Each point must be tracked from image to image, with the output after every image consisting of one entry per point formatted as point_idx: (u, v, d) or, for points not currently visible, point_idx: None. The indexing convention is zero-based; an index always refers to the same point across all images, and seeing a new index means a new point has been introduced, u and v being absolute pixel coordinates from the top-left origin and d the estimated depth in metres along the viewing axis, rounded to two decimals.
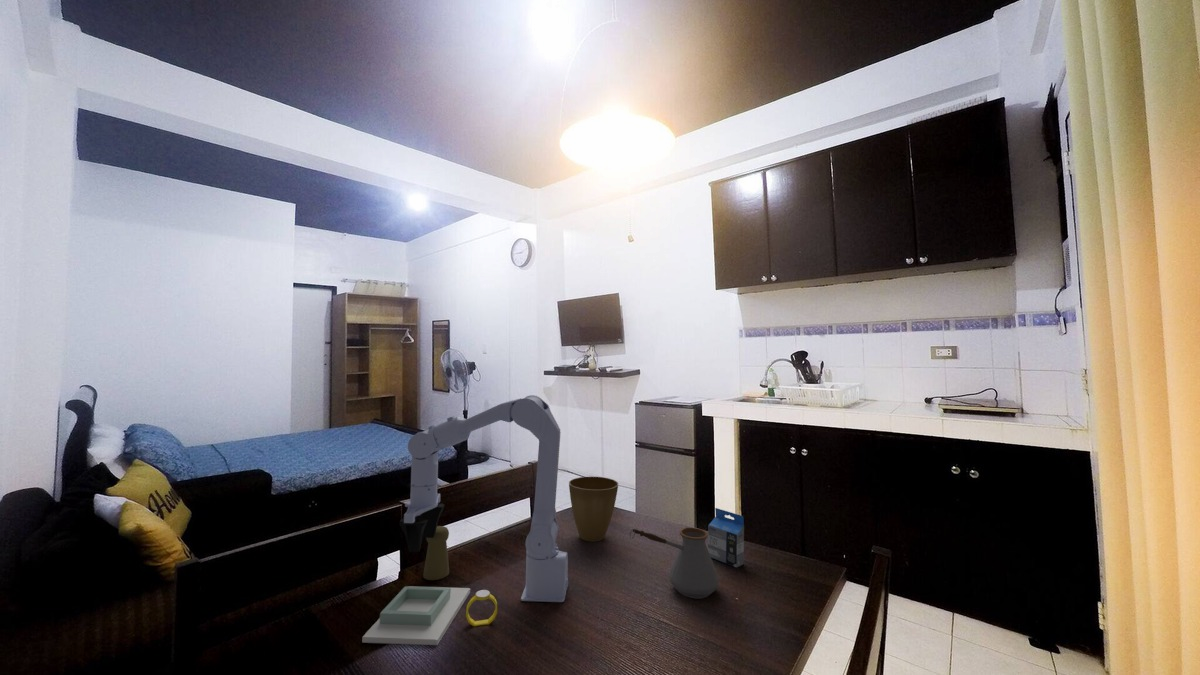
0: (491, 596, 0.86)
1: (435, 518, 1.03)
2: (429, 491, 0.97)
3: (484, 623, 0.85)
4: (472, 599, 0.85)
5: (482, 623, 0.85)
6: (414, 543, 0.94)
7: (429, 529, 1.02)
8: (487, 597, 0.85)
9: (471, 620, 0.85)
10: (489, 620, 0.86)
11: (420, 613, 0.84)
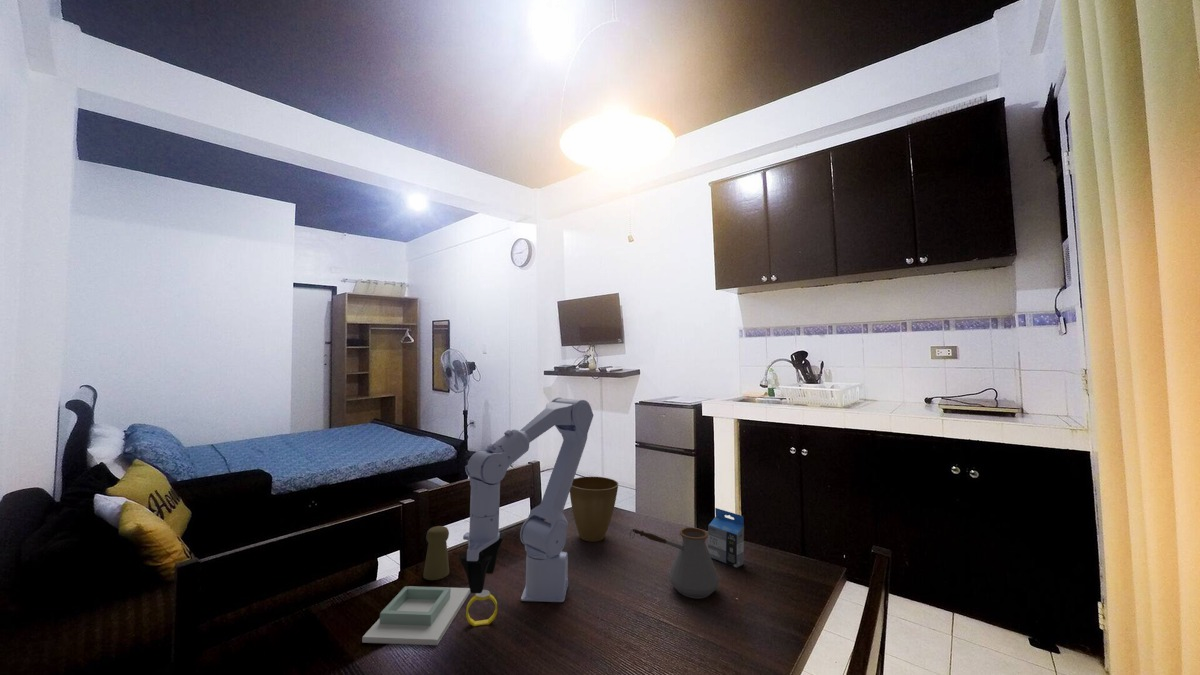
0: (491, 596, 0.86)
1: (495, 551, 0.90)
2: (492, 522, 0.85)
3: (484, 623, 0.85)
4: (472, 599, 0.85)
5: (482, 623, 0.85)
6: (477, 583, 0.82)
7: (488, 563, 0.90)
8: (487, 597, 0.85)
9: (471, 620, 0.85)
10: (489, 620, 0.86)
11: (420, 613, 0.84)
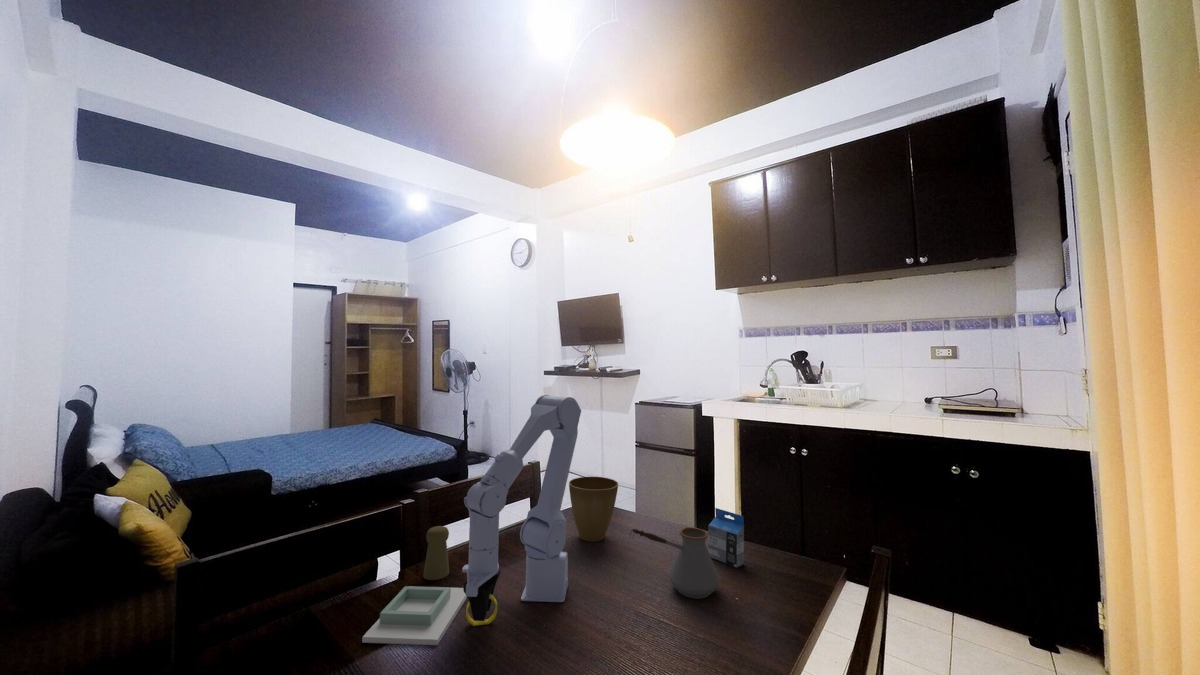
0: (491, 596, 0.86)
1: None
2: (491, 555, 0.85)
3: (484, 623, 0.85)
4: None
5: (482, 623, 0.85)
6: (480, 611, 0.84)
7: None
8: None
9: (471, 620, 0.85)
10: (489, 620, 0.86)
11: (420, 613, 0.84)
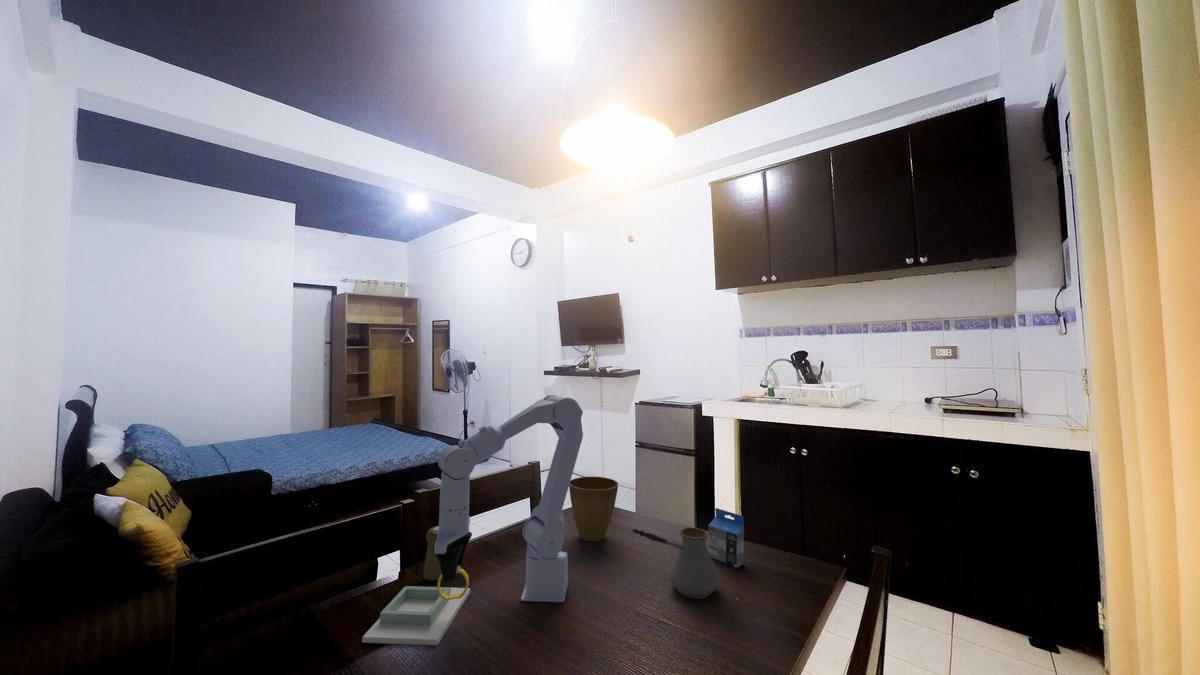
0: (462, 570, 0.88)
1: (462, 549, 0.89)
2: (461, 516, 0.86)
3: (456, 597, 0.86)
4: None
5: (454, 597, 0.87)
6: (449, 570, 0.85)
7: None
8: (457, 571, 0.87)
9: (443, 594, 0.87)
10: (461, 594, 0.87)
11: (420, 613, 0.84)
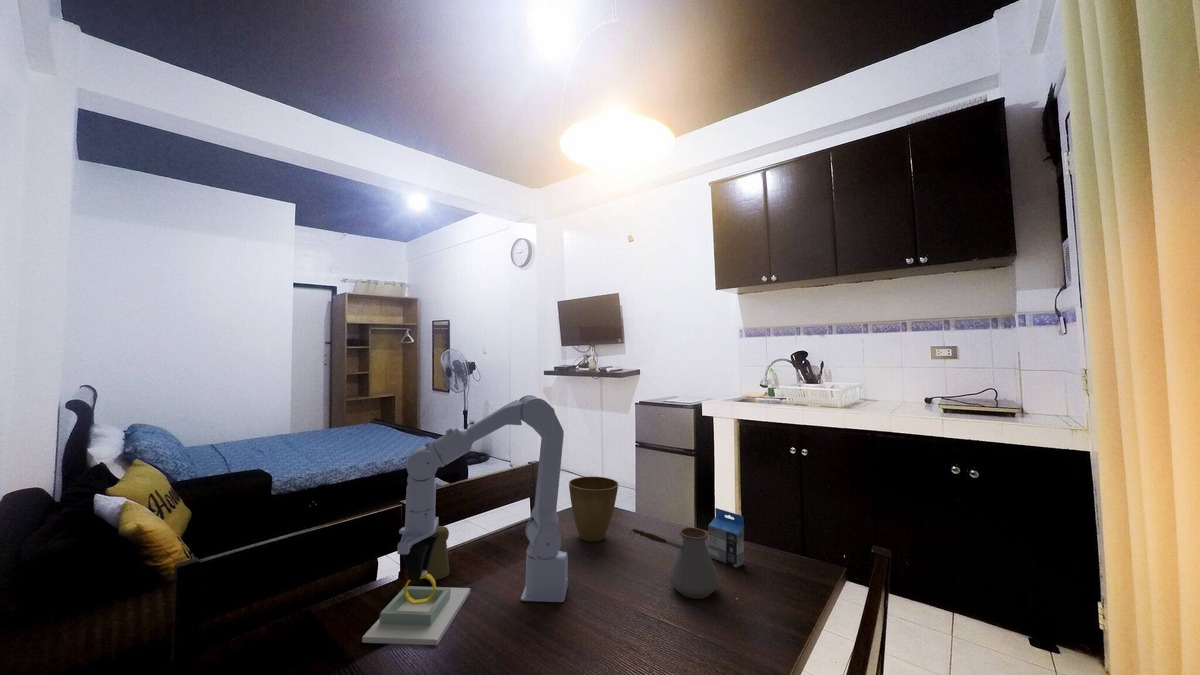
0: (428, 575, 0.89)
1: (428, 549, 0.90)
2: (426, 517, 0.87)
3: (422, 602, 0.88)
4: None
5: (420, 602, 0.88)
6: (414, 570, 0.87)
7: None
8: (423, 576, 0.88)
9: (410, 599, 0.88)
10: (427, 599, 0.88)
11: (420, 613, 0.84)
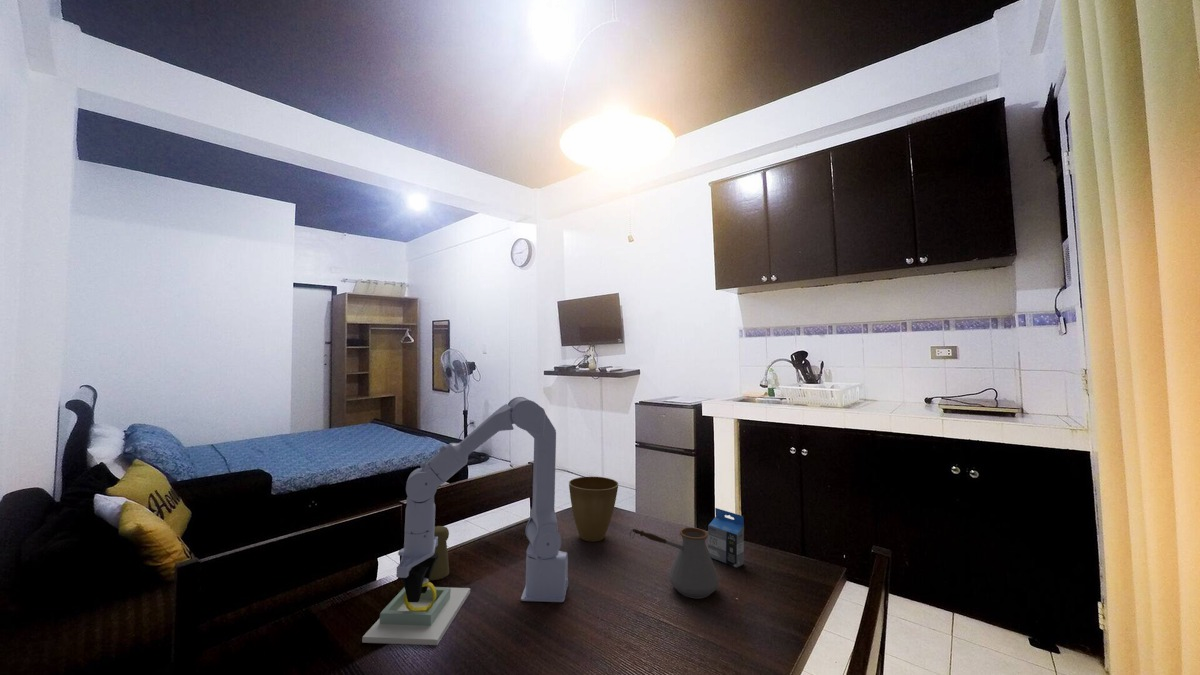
0: (429, 584, 0.89)
1: (427, 571, 0.90)
2: (425, 538, 0.87)
3: (422, 610, 0.88)
4: None
5: (420, 610, 0.88)
6: (414, 592, 0.86)
7: None
8: (424, 585, 0.88)
9: (410, 606, 0.88)
10: (427, 607, 0.88)
11: (420, 613, 0.84)
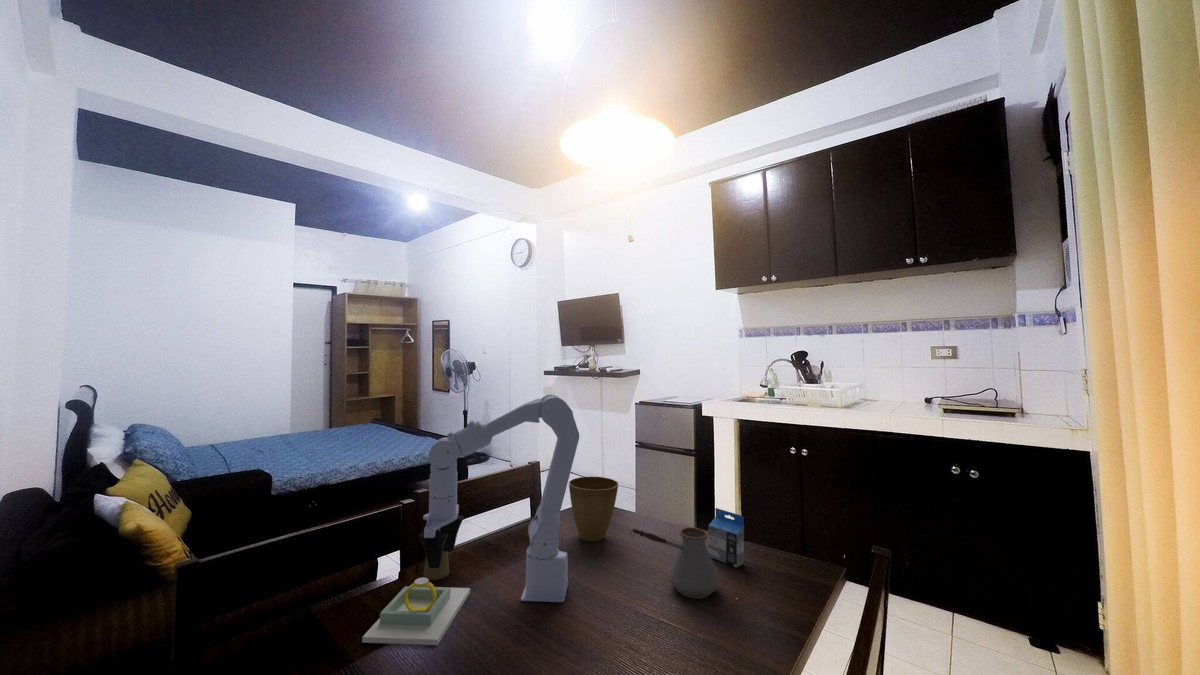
0: (429, 584, 0.89)
1: (454, 531, 0.97)
2: (449, 503, 0.92)
3: (422, 610, 0.88)
4: (411, 586, 0.88)
5: (420, 610, 0.88)
6: (435, 558, 0.89)
7: (447, 542, 0.97)
8: (424, 585, 0.88)
9: (410, 606, 0.88)
10: (427, 607, 0.88)
11: (420, 613, 0.84)
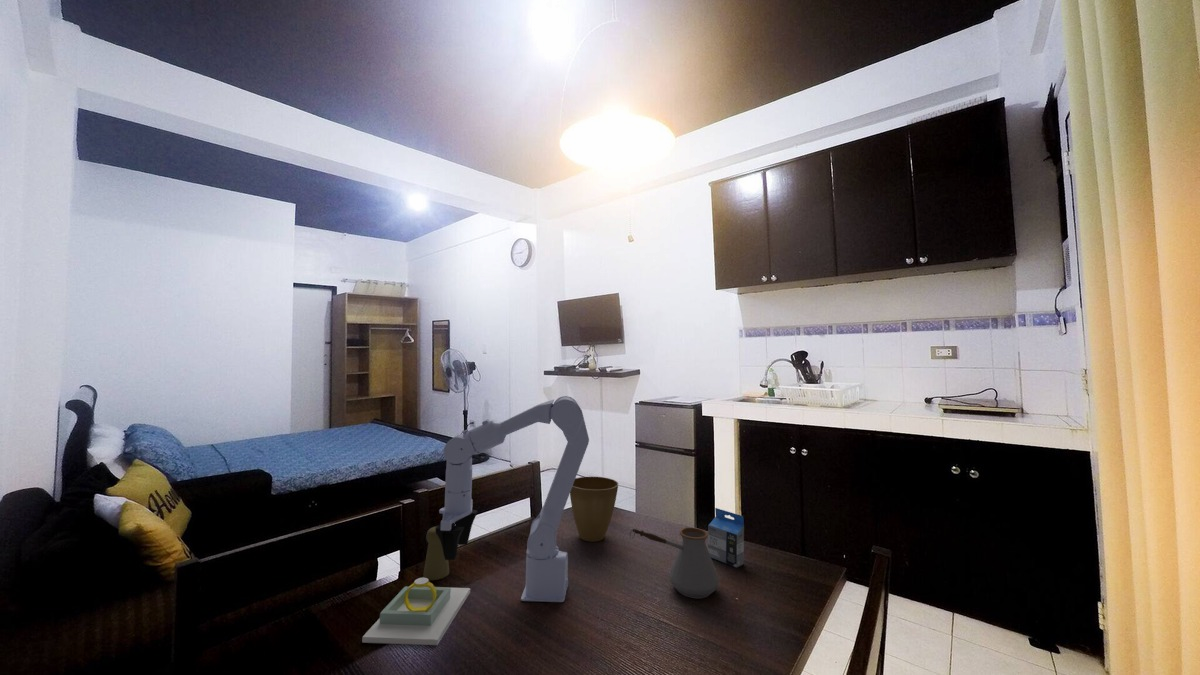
0: (429, 584, 0.89)
1: (468, 525, 1.00)
2: (464, 497, 0.95)
3: (422, 610, 0.88)
4: (411, 586, 0.88)
5: (420, 610, 0.88)
6: (450, 551, 0.92)
7: (462, 535, 1.00)
8: (424, 585, 0.88)
9: (410, 606, 0.88)
10: (427, 607, 0.88)
11: (420, 613, 0.84)
